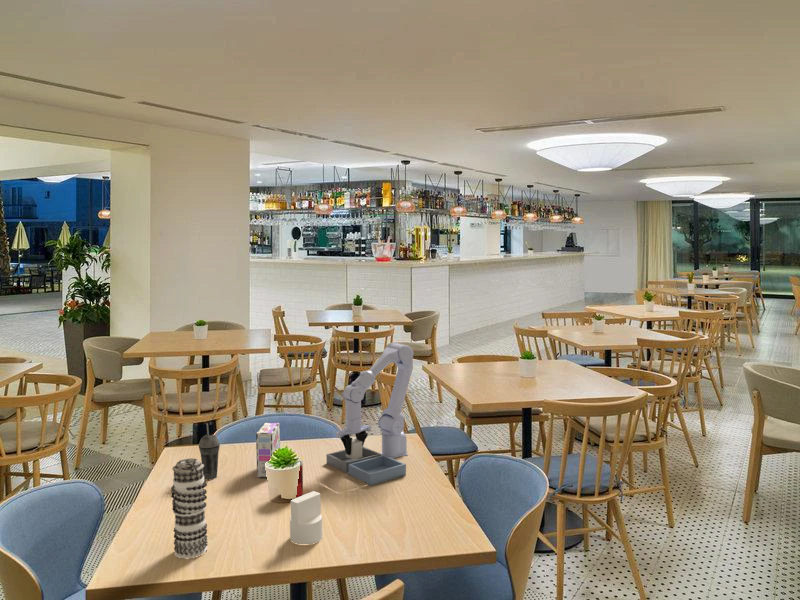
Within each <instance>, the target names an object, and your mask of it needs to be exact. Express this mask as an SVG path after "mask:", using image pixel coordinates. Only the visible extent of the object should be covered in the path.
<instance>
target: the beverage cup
mask: <svg viewBox="0 0 800 600" xmlns="http://www.w3.org/2000/svg"><path fill="white" fill-rule="evenodd" d="M209 430H210V429H209V423H208V422H207V423H206V431H207V432H206V434H205V435H204V436H202V437H201V438H200V440H199V443H198V448H199V453H200V458H201V459H200V462H201V463H203V464H204V467H203V475H204V478H206V479H205V480H207V479H210V480H214V478H215V479H216V478H217V477H218V469H219V468H218V467H219V451H220V447H221V444H220V440H219V437H217V435H215V434H212V433H210V431H209Z"/></svg>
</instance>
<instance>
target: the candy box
mask: <svg viewBox="0 0 800 600" xmlns="http://www.w3.org/2000/svg"><path fill="white" fill-rule="evenodd" d="M280 431H281V429H280V422H265V423H263V425H262V426H261V427H260V428H259V430H258V431H257V432H256V434H255V437H256V438H255V440H256V442H255V443H256V444H255V445H256V446H255V447H256V449H255V450H256V478H258V479H260V478H264V479H265V478H266V470H265V463H266V462H267V461H269V460H270V458H271V456H272V454H273V452H274V451H275V450H276V449H278V448H280V449H281V439H280V438H281V433H280Z"/></svg>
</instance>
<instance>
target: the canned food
mask: <svg viewBox="0 0 800 600" xmlns="http://www.w3.org/2000/svg"><path fill="white" fill-rule="evenodd" d="M298 460H299V461H300V471H299V479H298V486H297V495H296V497H297V498H298V497H300V496H302V495H304V478H303V477H304V474H303V473H304V472H303V471H304V470H303V461H302V460H300V459H298Z"/></svg>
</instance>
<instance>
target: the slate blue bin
mask: <svg viewBox="0 0 800 600" xmlns="http://www.w3.org/2000/svg"><path fill="white" fill-rule="evenodd" d="M347 475H349V476H352V477H353V478H355V479H358V480H360V481H362V482H363V483H366V485H368V486H370V487H371V486H375V485H377V484H381V483H385V482H388V481H391V480H394V479H397V478H401V477H404V476H406V475H407V464H406V463H404V462H402V461H399V460H397V459H395V458H393V459H392V458H390V457H387V456H385V455H382V456H378V457H375V458H371V459H367V460H363V461H360V462H356V463H352V464H348V473H347Z"/></svg>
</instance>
